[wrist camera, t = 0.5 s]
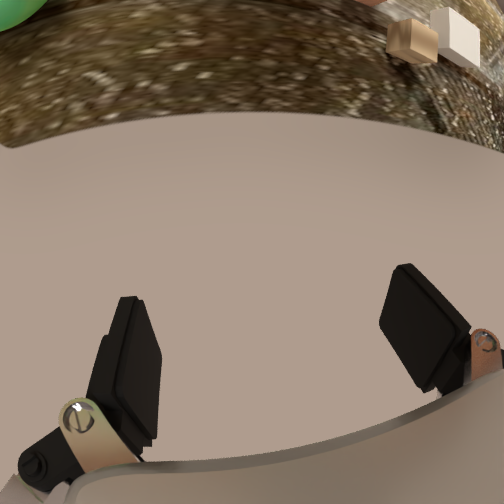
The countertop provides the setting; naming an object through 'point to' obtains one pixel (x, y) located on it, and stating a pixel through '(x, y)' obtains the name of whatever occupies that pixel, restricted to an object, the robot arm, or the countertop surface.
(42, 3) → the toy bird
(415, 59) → the oak block
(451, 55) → the white block
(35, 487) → the robot arm
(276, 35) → the countertop surface
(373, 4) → the terracotta block
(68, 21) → the countertop surface
